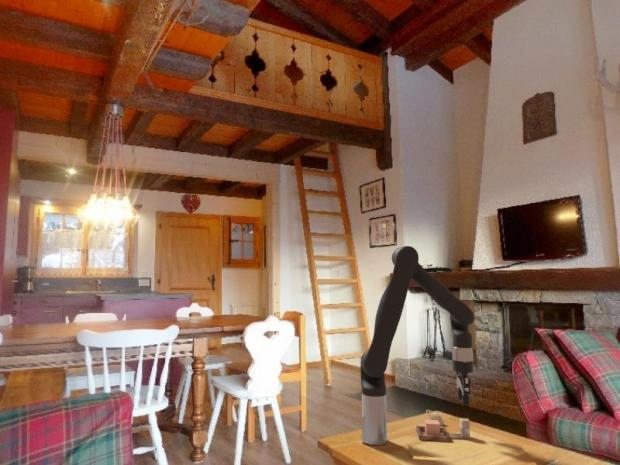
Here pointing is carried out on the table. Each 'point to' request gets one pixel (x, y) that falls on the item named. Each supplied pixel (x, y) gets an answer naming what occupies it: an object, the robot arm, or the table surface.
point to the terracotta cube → (432, 427)
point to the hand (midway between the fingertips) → (463, 402)
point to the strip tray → (446, 433)
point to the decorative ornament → (435, 417)
